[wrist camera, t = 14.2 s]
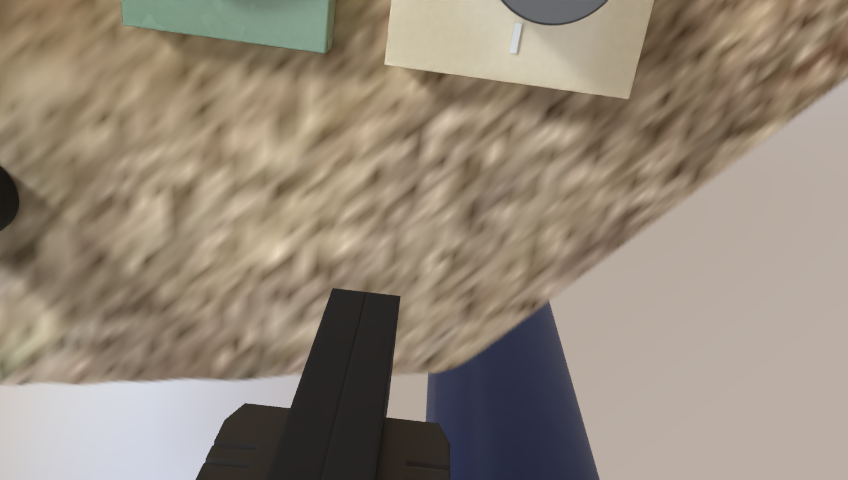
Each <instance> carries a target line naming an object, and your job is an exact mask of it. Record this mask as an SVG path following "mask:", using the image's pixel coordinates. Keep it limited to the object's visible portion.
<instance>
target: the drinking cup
mask: <svg viewBox="0 0 848 480" xmlns="http://www.w3.org/2000/svg"><path fill="white" fill-rule="evenodd" d="M18 205H19V199H18V193H17V190H16V187H15V185H14V183H13V181H12V180H11V178H10V177H9V175H8V174H7V173H6V172H5V171H4V170H3V169H2V168H1V167H0V231H1V230H3V229H4V228H5V227H6V226H7V225H9V224H10V223H11V222H12V220H13V219H14V218H15V216H16V214H17V211H18Z"/></svg>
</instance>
